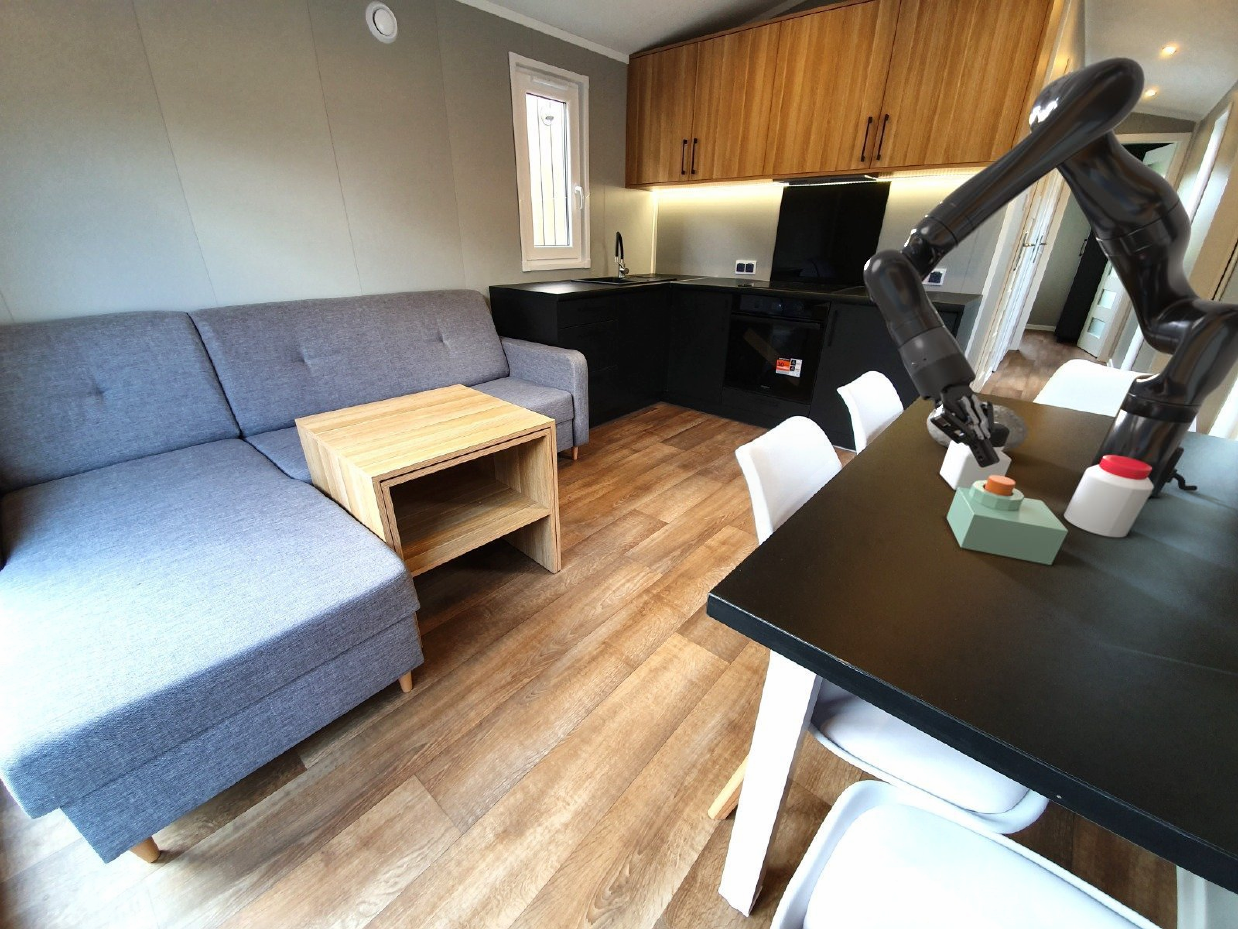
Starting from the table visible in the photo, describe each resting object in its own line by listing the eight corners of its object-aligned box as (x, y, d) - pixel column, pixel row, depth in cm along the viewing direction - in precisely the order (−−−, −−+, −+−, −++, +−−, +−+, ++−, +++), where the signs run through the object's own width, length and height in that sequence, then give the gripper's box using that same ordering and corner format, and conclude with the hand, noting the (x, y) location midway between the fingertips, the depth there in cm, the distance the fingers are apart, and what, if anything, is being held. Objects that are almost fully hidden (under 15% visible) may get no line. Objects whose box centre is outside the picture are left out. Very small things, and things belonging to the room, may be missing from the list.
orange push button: (1006, 489, 73) (1011, 477, 72) (1013, 499, 70) (1019, 486, 69) (981, 485, 74) (986, 473, 73) (987, 494, 71) (992, 482, 70)
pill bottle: (1111, 517, 81) (1143, 456, 76) (1138, 541, 74) (1176, 477, 70) (1055, 508, 83) (1083, 448, 78) (1076, 531, 76) (1109, 468, 72)
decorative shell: (915, 427, 117) (928, 387, 113) (1003, 440, 111) (1020, 398, 107) (928, 455, 102) (943, 410, 98) (1030, 471, 96) (1051, 424, 92)
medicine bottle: (997, 495, 86) (1024, 432, 81) (953, 490, 88) (977, 428, 82) (979, 478, 93) (1002, 418, 88) (938, 473, 94) (959, 414, 89)
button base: (1026, 532, 76) (1046, 489, 72) (1051, 565, 68) (1074, 519, 65) (946, 517, 79) (961, 476, 76) (960, 547, 71) (978, 503, 68)
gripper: (931, 353, 71) (992, 463, 66) (982, 347, 76) (1041, 448, 72) (888, 380, 77) (940, 482, 73) (938, 372, 83) (990, 466, 78)
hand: (990, 464), depth 72 cm, fingers closed
